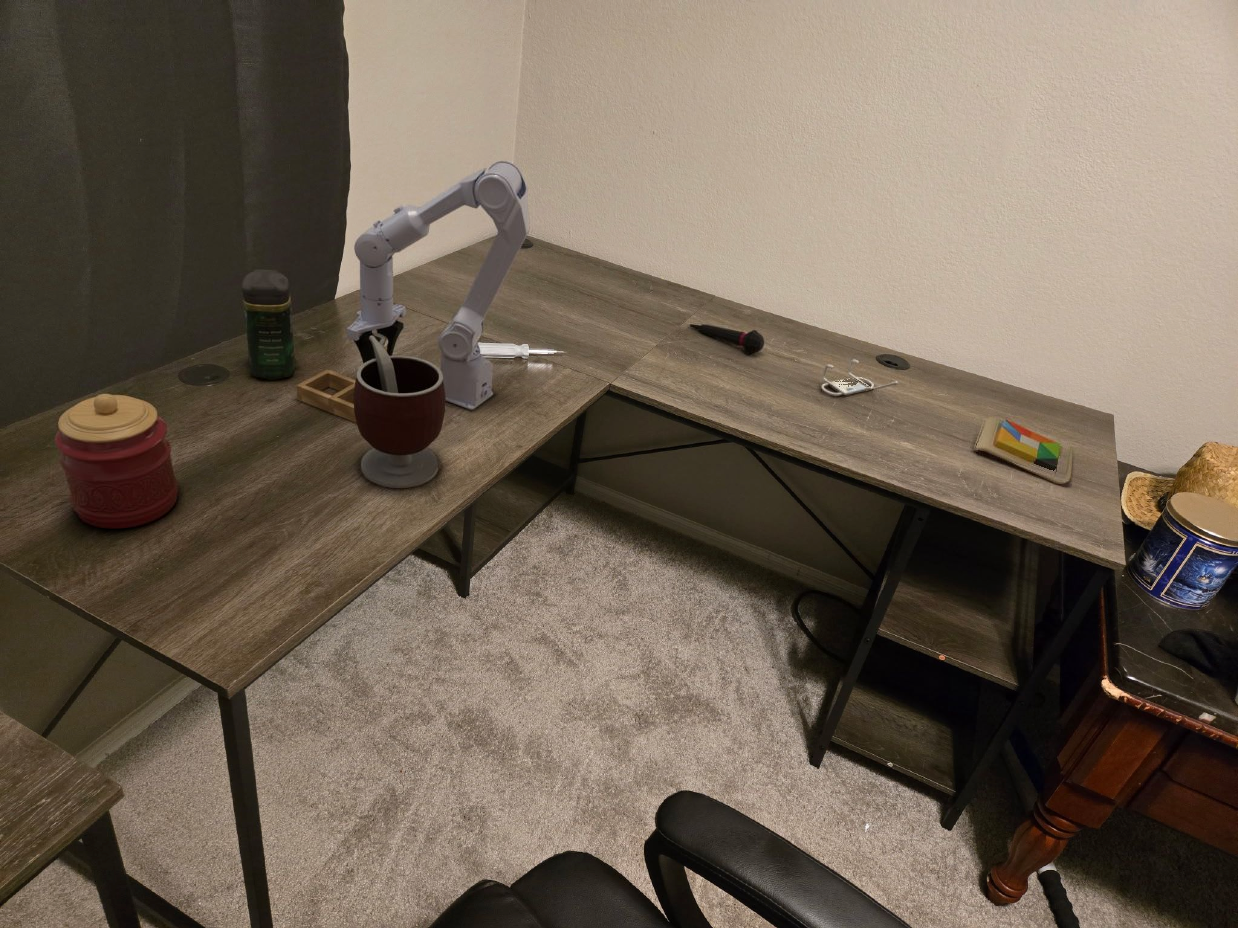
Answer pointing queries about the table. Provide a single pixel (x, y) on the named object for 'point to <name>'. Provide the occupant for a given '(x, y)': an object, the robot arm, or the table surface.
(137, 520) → the kitchen canister
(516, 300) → the table surface
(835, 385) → the wall mount rack
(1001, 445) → the wooden puzzle
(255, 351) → the coffee jar
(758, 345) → the microphone
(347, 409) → the rack
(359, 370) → the mate gourd
